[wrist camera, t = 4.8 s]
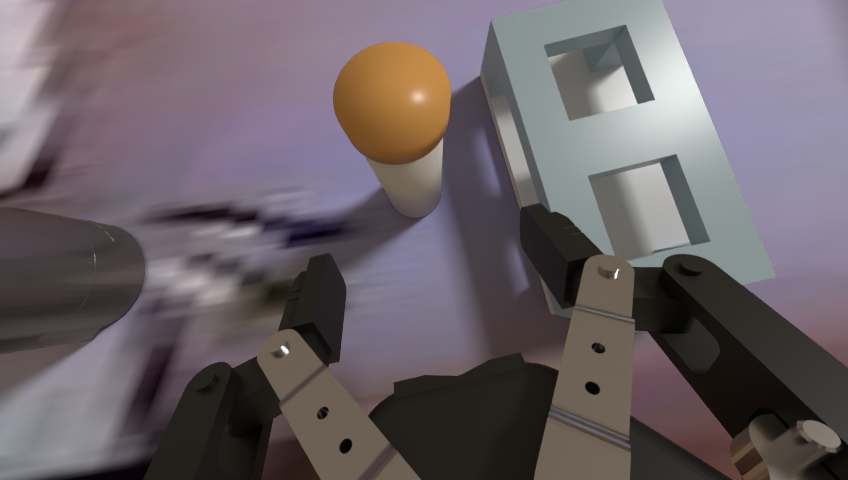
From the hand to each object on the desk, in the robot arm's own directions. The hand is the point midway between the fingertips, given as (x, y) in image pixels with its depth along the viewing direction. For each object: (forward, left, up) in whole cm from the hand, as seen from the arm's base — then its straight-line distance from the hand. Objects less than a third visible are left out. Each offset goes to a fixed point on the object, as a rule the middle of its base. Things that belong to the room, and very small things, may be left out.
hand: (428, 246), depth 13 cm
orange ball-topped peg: (+5, +4, -13) cm, 15 cm away
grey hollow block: (+13, -8, -13) cm, 20 cm away
